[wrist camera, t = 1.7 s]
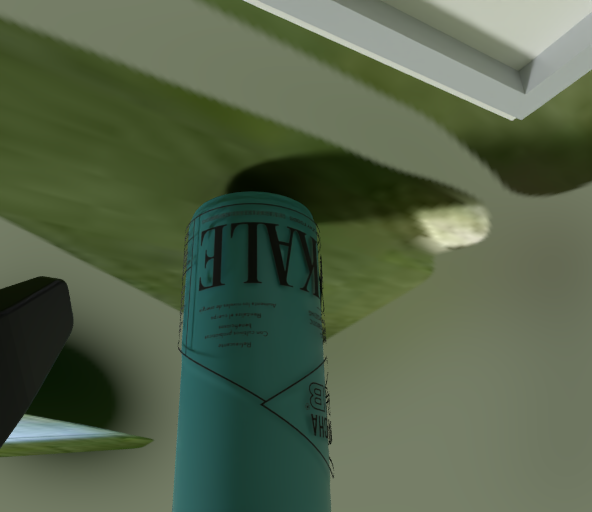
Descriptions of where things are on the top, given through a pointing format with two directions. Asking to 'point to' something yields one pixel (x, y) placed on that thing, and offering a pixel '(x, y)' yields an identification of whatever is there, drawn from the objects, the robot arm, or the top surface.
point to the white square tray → (462, 43)
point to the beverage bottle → (252, 361)
